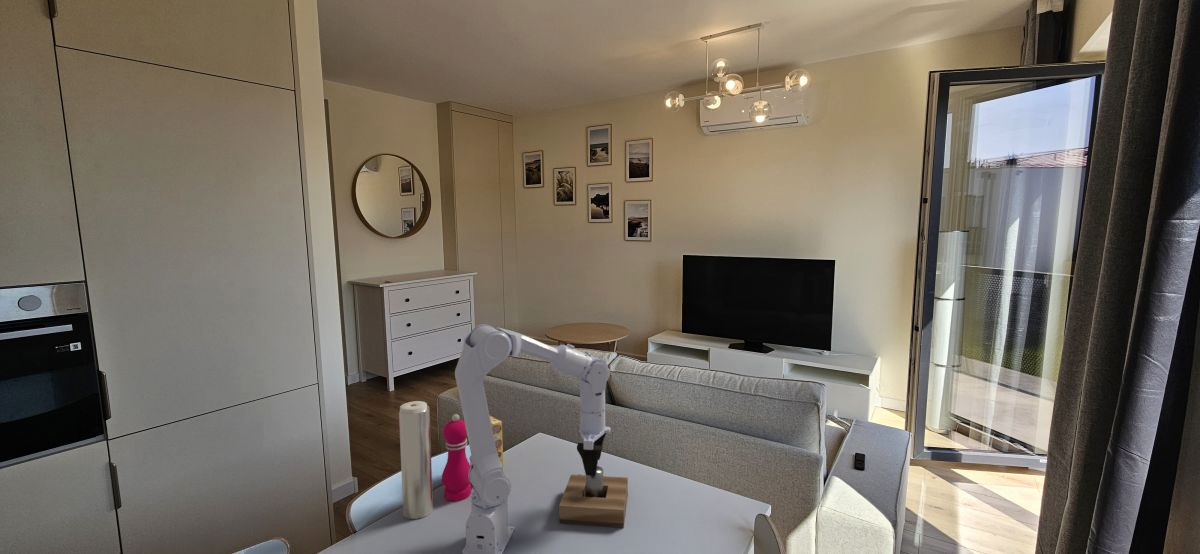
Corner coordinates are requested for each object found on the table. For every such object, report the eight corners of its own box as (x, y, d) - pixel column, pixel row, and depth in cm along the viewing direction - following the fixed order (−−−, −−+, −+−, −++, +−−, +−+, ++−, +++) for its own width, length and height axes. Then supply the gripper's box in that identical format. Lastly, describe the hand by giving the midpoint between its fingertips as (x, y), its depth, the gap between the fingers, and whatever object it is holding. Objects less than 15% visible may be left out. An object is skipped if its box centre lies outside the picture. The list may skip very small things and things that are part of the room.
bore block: (623, 527, 102) (623, 509, 102) (559, 523, 104) (559, 505, 104) (627, 493, 116) (627, 477, 116) (571, 490, 118) (570, 474, 118)
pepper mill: (477, 487, 120) (475, 409, 118) (466, 503, 112) (464, 420, 111) (449, 486, 120) (447, 408, 119) (437, 501, 113) (434, 419, 112)
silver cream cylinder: (423, 521, 105) (419, 410, 103) (396, 517, 107) (392, 408, 105) (438, 505, 112) (435, 400, 110) (413, 502, 113) (409, 398, 111)
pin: (601, 509, 108) (601, 475, 107) (584, 507, 109) (583, 473, 108) (604, 499, 112) (604, 466, 111) (588, 497, 112) (587, 465, 112)
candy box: (504, 478, 124) (503, 420, 123) (490, 484, 121) (488, 425, 120) (486, 467, 130) (485, 412, 129) (472, 472, 127) (471, 416, 126)
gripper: (606, 421, 101) (606, 483, 102) (613, 399, 116) (613, 453, 117) (573, 420, 102) (574, 481, 103) (584, 398, 117) (584, 452, 118)
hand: (593, 466), depth 110 cm, fingers open, 7 cm apart
